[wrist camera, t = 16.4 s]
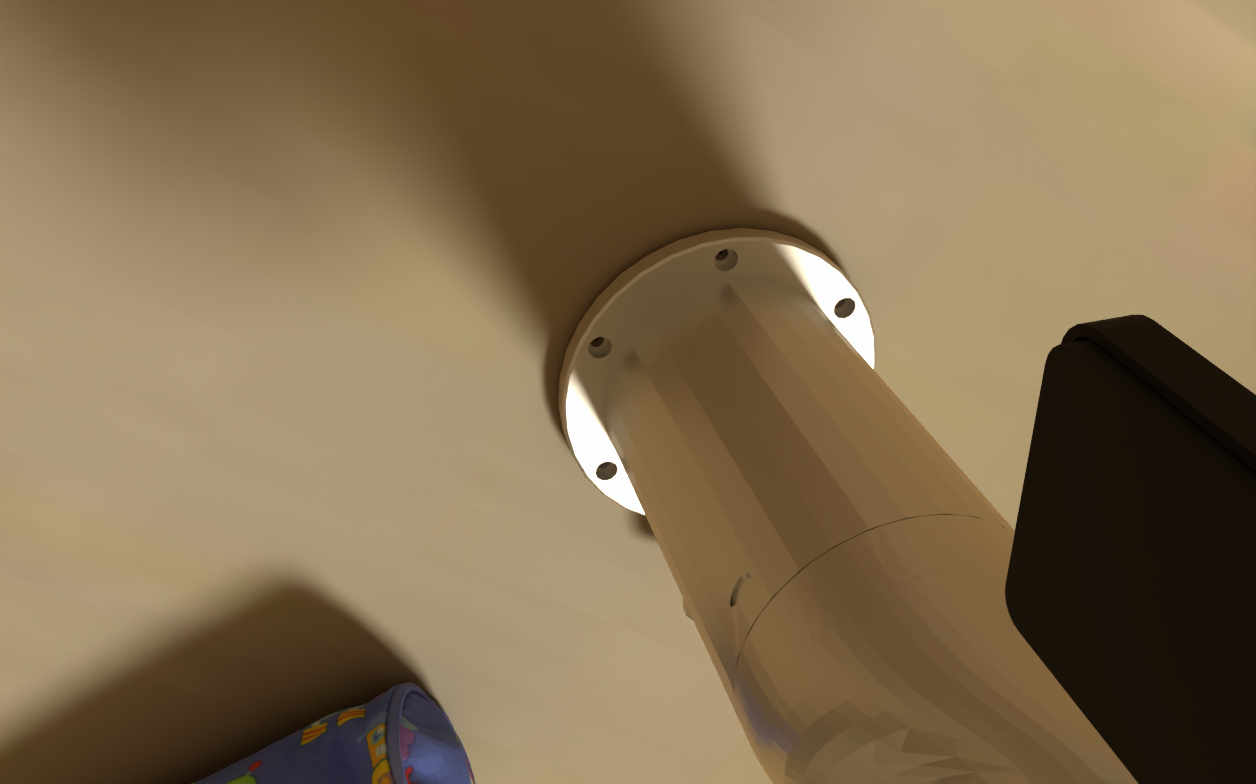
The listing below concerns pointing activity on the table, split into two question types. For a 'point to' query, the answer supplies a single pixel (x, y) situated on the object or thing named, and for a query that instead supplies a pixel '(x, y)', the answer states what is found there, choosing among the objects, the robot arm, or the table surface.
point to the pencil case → (363, 747)
